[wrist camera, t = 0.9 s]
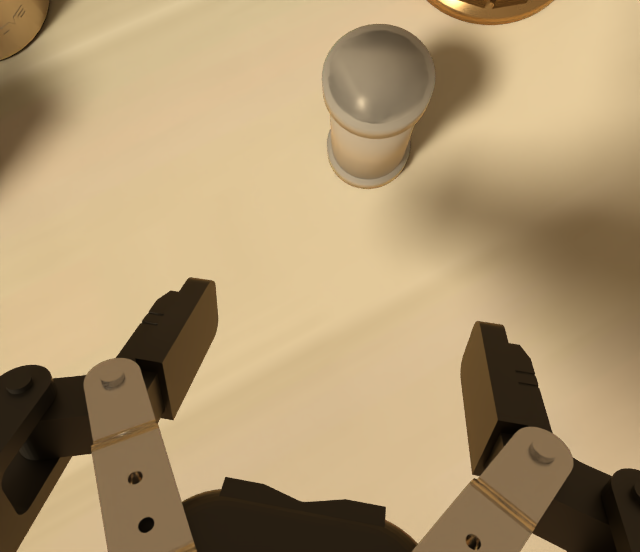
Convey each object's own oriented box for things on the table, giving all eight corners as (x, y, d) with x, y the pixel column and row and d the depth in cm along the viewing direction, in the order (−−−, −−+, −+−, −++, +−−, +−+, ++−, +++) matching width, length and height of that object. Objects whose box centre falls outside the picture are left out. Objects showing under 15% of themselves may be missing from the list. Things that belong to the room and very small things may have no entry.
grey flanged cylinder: (311, 145, 31) (299, 70, 22) (372, 96, 32) (385, 2, 23) (362, 205, 31) (371, 152, 22) (424, 154, 31) (459, 82, 22)
